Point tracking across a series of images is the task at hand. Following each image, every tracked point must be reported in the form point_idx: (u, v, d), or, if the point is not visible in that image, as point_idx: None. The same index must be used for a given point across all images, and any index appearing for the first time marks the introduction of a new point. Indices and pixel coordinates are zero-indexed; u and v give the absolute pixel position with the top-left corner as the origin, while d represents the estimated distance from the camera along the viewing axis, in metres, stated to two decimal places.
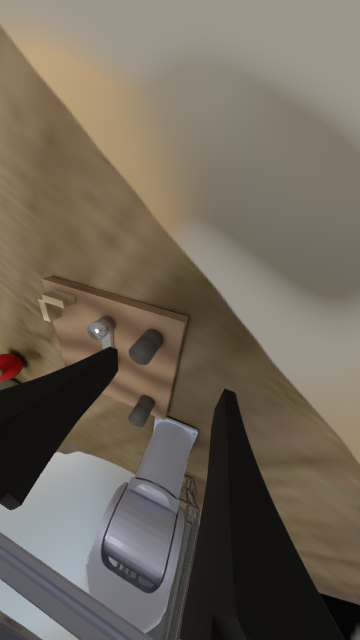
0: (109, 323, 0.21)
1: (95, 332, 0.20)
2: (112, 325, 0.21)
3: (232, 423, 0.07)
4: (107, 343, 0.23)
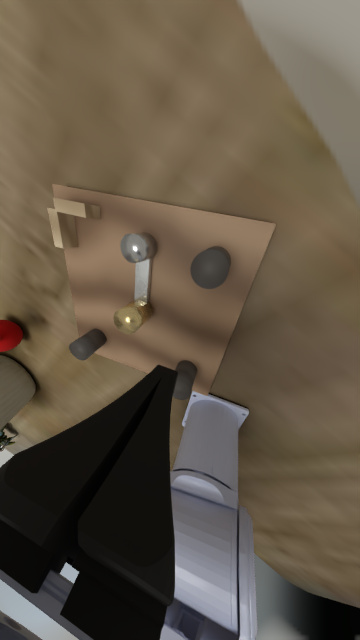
0: (150, 240, 0.14)
1: (133, 248, 0.13)
2: (154, 245, 0.15)
3: (160, 394, 0.08)
4: (143, 279, 0.16)
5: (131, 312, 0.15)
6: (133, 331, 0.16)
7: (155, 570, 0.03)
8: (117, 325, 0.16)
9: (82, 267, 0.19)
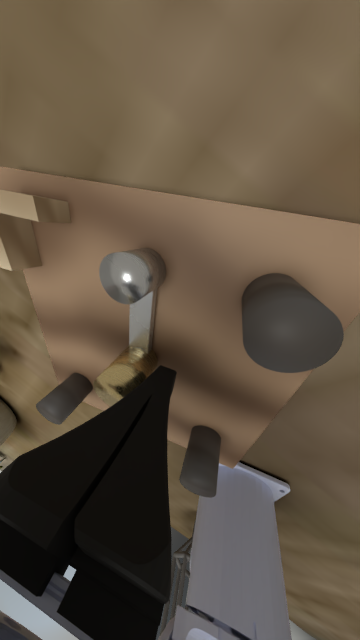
0: (155, 261, 0.08)
1: (122, 279, 0.07)
2: (161, 269, 0.08)
3: (158, 393, 0.08)
4: (142, 320, 0.10)
5: (123, 381, 0.09)
6: None
7: (151, 568, 0.03)
8: (100, 395, 0.10)
9: (51, 295, 0.13)
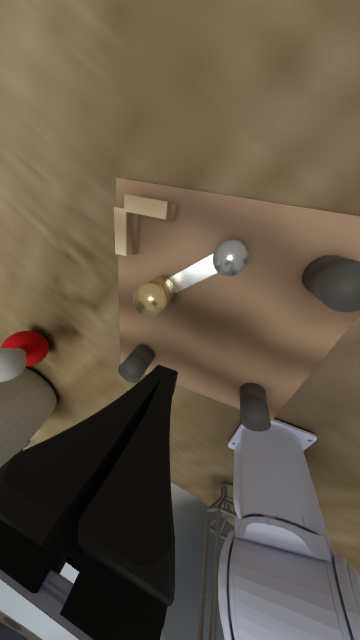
0: None
1: (231, 260, 0.11)
2: None
3: (160, 394, 0.08)
4: (196, 275, 0.14)
5: (164, 301, 0.13)
6: (147, 315, 0.13)
7: (155, 570, 0.03)
8: (135, 295, 0.13)
9: (138, 277, 0.16)
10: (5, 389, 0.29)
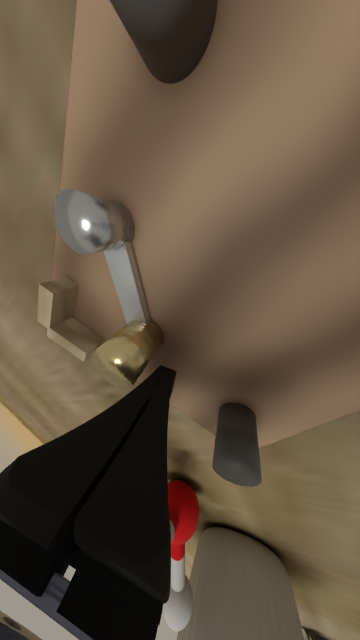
0: (113, 202, 0.07)
1: (77, 222, 0.07)
2: (122, 211, 0.08)
3: (158, 393, 0.08)
4: (127, 284, 0.09)
5: (117, 348, 0.08)
6: (132, 381, 0.08)
7: (151, 567, 0.03)
8: (104, 376, 0.09)
9: None
10: (211, 580, 0.22)
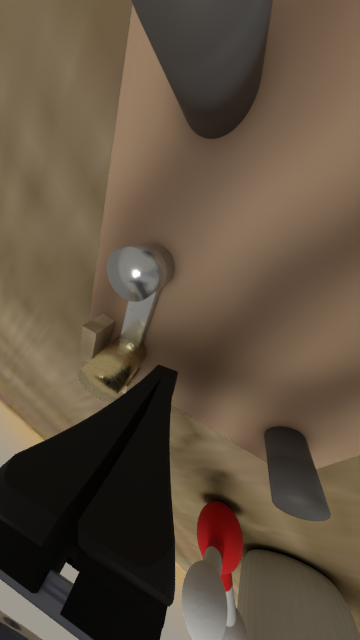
0: (166, 262, 0.08)
1: (131, 276, 0.07)
2: (170, 270, 0.08)
3: (160, 394, 0.08)
4: (139, 315, 0.10)
5: (111, 374, 0.09)
6: (109, 399, 0.10)
7: (155, 570, 0.03)
8: (84, 383, 0.10)
9: None
10: (263, 612, 0.20)
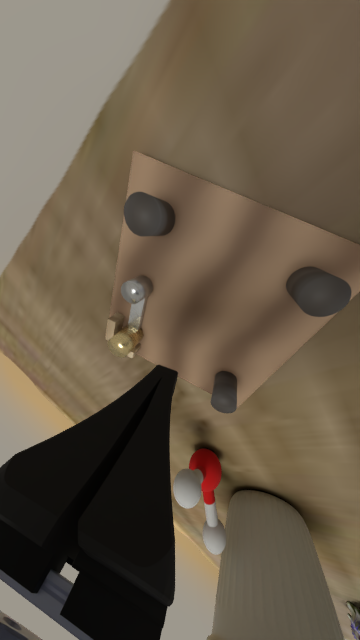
0: (148, 284, 0.17)
1: (132, 293, 0.16)
2: (150, 287, 0.17)
3: (160, 394, 0.08)
4: (137, 311, 0.19)
5: (124, 341, 0.18)
6: (124, 356, 0.18)
7: (155, 570, 0.03)
8: (110, 348, 0.19)
9: (155, 351, 0.22)
10: (240, 524, 0.28)
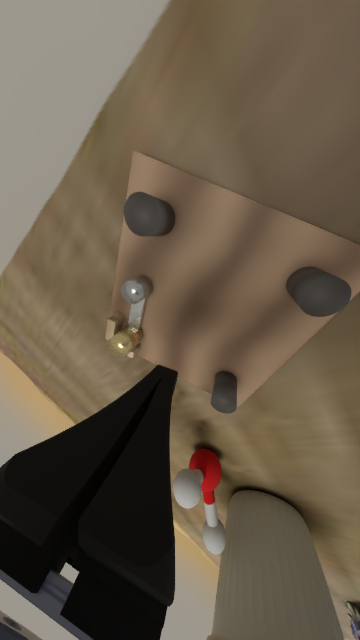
0: (148, 284, 0.17)
1: (132, 293, 0.16)
2: (150, 287, 0.17)
3: (160, 394, 0.08)
4: (137, 311, 0.19)
5: (124, 341, 0.18)
6: (124, 356, 0.18)
7: (155, 570, 0.03)
8: (110, 348, 0.19)
9: (155, 351, 0.22)
10: (240, 524, 0.28)
